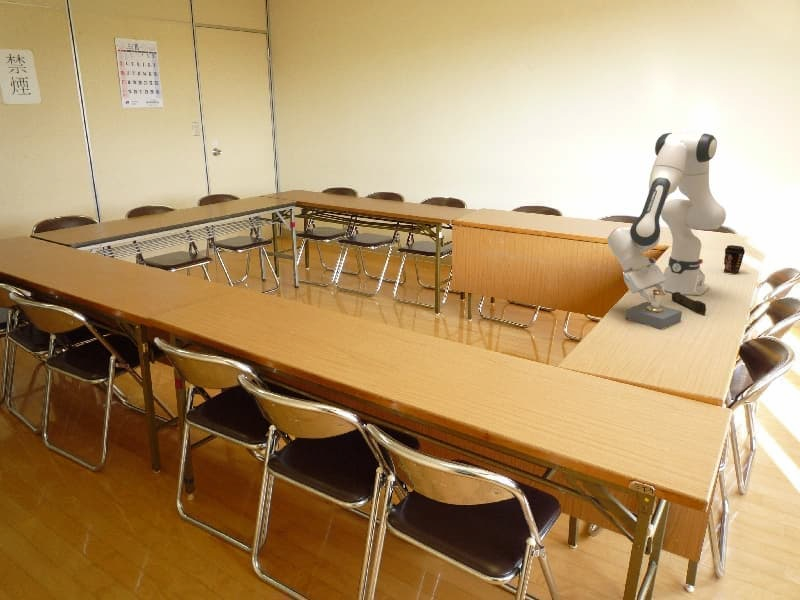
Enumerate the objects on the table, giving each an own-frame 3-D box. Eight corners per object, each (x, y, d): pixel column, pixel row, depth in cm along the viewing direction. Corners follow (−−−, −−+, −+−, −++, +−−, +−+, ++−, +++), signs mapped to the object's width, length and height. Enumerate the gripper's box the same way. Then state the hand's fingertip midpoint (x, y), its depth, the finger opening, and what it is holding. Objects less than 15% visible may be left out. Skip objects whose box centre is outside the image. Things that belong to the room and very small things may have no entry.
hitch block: (645, 311, 229) (647, 301, 228) (680, 321, 219) (682, 311, 218) (625, 318, 221) (627, 308, 220) (661, 329, 211) (662, 319, 210)
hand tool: (670, 300, 243) (671, 290, 241) (679, 300, 243) (681, 289, 242) (697, 316, 225) (699, 305, 224) (707, 316, 226) (709, 304, 224)
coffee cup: (725, 269, 290) (730, 243, 286) (743, 273, 284) (748, 247, 280) (717, 272, 284) (722, 246, 280) (735, 276, 278) (741, 249, 274)
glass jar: (650, 315, 224) (654, 287, 220) (664, 319, 220) (668, 291, 216) (642, 318, 221) (646, 290, 217) (656, 322, 216) (660, 294, 213)
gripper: (627, 266, 213) (648, 299, 209) (656, 258, 225) (677, 288, 221) (614, 275, 218) (635, 307, 214) (644, 266, 230) (664, 296, 226)
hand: (656, 297), depth 217 cm, fingers open, 8 cm apart
